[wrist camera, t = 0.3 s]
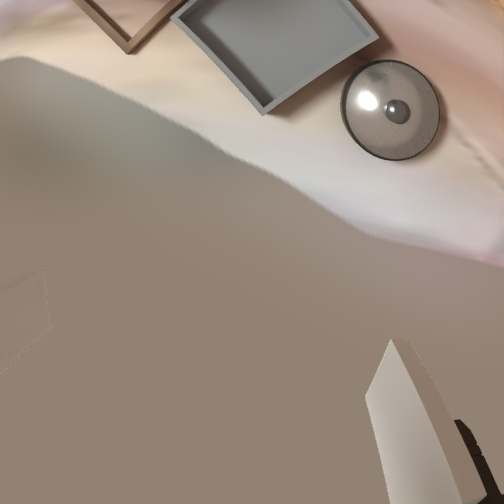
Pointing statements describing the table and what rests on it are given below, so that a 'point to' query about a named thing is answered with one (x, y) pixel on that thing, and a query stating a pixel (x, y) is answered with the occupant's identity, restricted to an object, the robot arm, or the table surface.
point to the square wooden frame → (140, 35)
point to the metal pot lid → (390, 109)
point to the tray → (274, 41)
